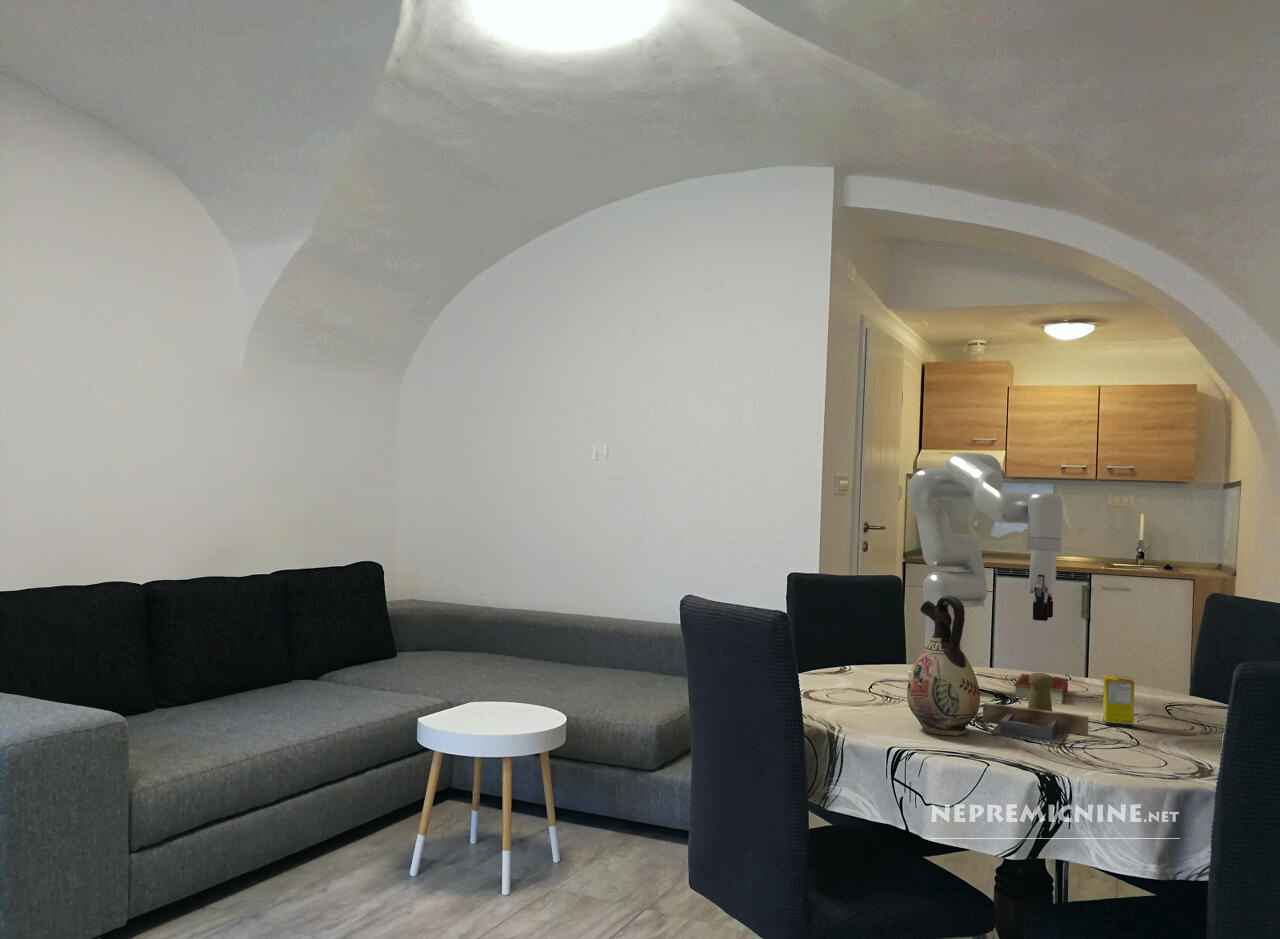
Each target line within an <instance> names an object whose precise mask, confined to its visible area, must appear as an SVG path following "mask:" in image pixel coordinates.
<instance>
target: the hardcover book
mask: <svg viewBox="0 0 1280 939" xmlns="http://www.w3.org/2000/svg"><path fill="white" fill-rule="evenodd" d="M1030 675H1031V674H1028V673H1021V674H1020V675H1019V677H1018V678H1017V679H1016V681H1015V683H1013V687H1015V695H1014V697H1018V698H1026V699H1029V698H1030V692H1031V686H1030V684H1029V677H1030ZM1051 677H1052V680H1053V684H1052V687H1051V688H1050V695H1051V701H1052V702H1061V703H1063V704H1064V702H1063V701H1065V699H1066V696H1067V692H1068V687H1069V682H1068V678H1065V677H1059V676H1058V677H1056V676H1051ZM1064 698H1065V699H1064Z"/></svg>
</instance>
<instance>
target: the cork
mask: <svg viewBox="0 0 1280 939" xmlns="http://www.w3.org/2000/svg"><path fill="white" fill-rule="evenodd" d="M1052 677H1053V676H1051V675H1050V674H1047V673H1044V672H1033V673H1031V674H1030V677H1029V684H1030V686H1031V692H1030V698H1029V700H1028V705H1027V708H1031V709H1039V710H1046V711H1053V705H1052V704H1053V703H1051V695H1050V688H1051V687H1052V684H1053V680H1052Z"/></svg>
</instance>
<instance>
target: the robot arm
mask: <svg viewBox="0 0 1280 939" xmlns="http://www.w3.org/2000/svg"><path fill="white" fill-rule="evenodd" d="M909 482H910V483H909V486H908V495H909V496H908V497H909V500H910V504H911V508H912V510H913V513H914V516H915V519H916V524H917V530H918V535H919V541H920V546H921V552H922V556H923V560H924V562H925V563H926V565H927V566H929V567H932V568H940V569H941V568H942V569H945V568H946V569H957V571H953V570H952V571H951V570H949V571H934V572H932V573H930V574H928V575H927V576H926V577H925V578H924V580H923V582H922V595H923V600H924V602H923V603H925V602H926V601H930V602H932V603H933V604H934V605H935V606H936V605H937V602H938V600H939V599H940V598H942V597H943V596H947V595H951V596H954V597H956V598H957V599H959V600H960V601H961V603H962V604H963V606H964V608H970V607H971V608H973V607H980V606H981V605H982V604H984V603H985V601H986V600H987V597H988V592H989V591H988V582H987V577H986V572H985V566H984V561H983V554H982V550H981V547H980V545H979V543H978V541H977V540H976V539H975V538H974V537H973V536H971V535H970V534H965V533H954V532H953V531H952V528H951V524H950V520H949V516H948V514H947V512H946V511H945V509H944V507H943V506H942V505H941V504H940V503H939V501H938V500H952V501H953V500H954V501H965V500H969V499H973V503H974V506H975V508H976V509H977V510H978V511H979V513H981V514H983V515H984V516H986V517H987V518H989V519H991V520H992V521H995V522H997V523H1003V524H1004V523H1005V524H1013V523H1014V524H1025V525H1026V524H1027V529H1026V530H1027V533H1026V534H1027V536H1026V537H1027V538H1026V552H1030V560H1029V575H1028V576H1029V577H1028V593H1030V594H1034V595H1033V603H1032V620H1034V621H1042V622H1047V621H1048V620H1049V618H1053V617H1054V600H1053V598H1054V596H1053V593H1054V592H1055V591H1056V579H1057V576H1056V575H1057V554H1058V553H1062V546H1063V545H1062V544H1063V542H1062V541H1063V540H1062V538H1063V537H1062V536H1063V535H1062V534H1063V498H1062V496H1061V495H1060V494H1057V493H1051V492H1050V493H1049V492H1048V493H1047V492H1022V491H1021V492H1019V491H1003V490H1002V489H1003V487H1004V478H1003V476H1002V466H1001V463H1000V461H999V460H998V459H997V458H996V457H995V456H993V455H991V454H986V453H972V452H961V453H960V452H958V453H955V454H953V455H952V456H950V457H949V458H948V459H947V461H946V462H945V467H944V468H940V467H938V468H937V467H936V468H935V467H930V468H923V469H920V470H918V471H916V472H915V473H914V474H913V475H912V477H911V479H910V481H909ZM948 612H949V614H950V616H951V618H952V623H951V625H950V629H951V633H952V626H953V620H954V613H953V608H952V607H951V606H950V605H949V606H948ZM934 631H935V622H934V621H933V620H932V619H931V618H930V617H928V616H926V615H925V631H924V632H925V634H924V636H925V637H924V638H925V639H924V648H925V647H926V646H927V644H928V643H929V642H930V640H931V638H932V637H933V635H934ZM962 647H963V636H962V637H961V640H960V650H961V651H962ZM962 652H963V651H962ZM911 672H912V669H909V670H908V674H907V675H908V677H910V674H911Z"/></svg>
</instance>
